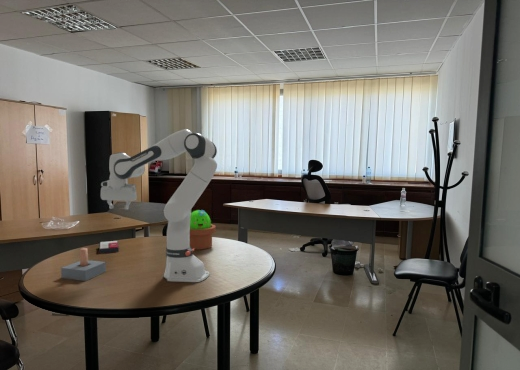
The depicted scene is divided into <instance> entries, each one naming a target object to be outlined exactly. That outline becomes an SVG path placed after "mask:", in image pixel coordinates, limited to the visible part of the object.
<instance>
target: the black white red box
mask: <svg viewBox="0 0 520 370" xmlns="http://www.w3.org/2000/svg"><path fill="white" fill-rule="evenodd" d="M98 247H99V249H98V253H99V254H108V253H118V252H120V251H119V249H120V248H119V247H120V246H119V241H118V240H113V241H112V240H111V241H100V242H99V246H98Z"/></svg>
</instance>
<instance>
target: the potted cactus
mask: <svg viewBox="0 0 520 370" xmlns="http://www.w3.org/2000/svg"><path fill="white" fill-rule="evenodd" d="M215 233H216V225H215V224H212V220H211V218H210V215H208V213H207V212H206V211H205V210H203V209H201V210H200V209H196V210H193V211H191V219H190V247H191V249H194V250H206V249H210V248H212V246H213V235H214V234H215Z"/></svg>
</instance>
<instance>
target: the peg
mask: <svg viewBox="0 0 520 370" xmlns="http://www.w3.org/2000/svg"><path fill="white" fill-rule="evenodd" d="M88 260H89V253H88V247H87V248H86V247H82V248H80V249H79V261H80V266H81V267H85V266H88Z"/></svg>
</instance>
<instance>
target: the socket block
mask: <svg viewBox="0 0 520 370" xmlns="http://www.w3.org/2000/svg"><path fill="white" fill-rule="evenodd" d="M60 270H61V271H60V273H61V279H67V280H76V281H84V282H86V281H88V280H90V279H93V278H95V277H98V276H99V275H102V274H104V273H106V272H107V262H106V261H99V260H89V259H88V266H85V267H81V266H80V260H78V261H76V262H72V263H70V264H67V265H65V266H62V267H60Z"/></svg>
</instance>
